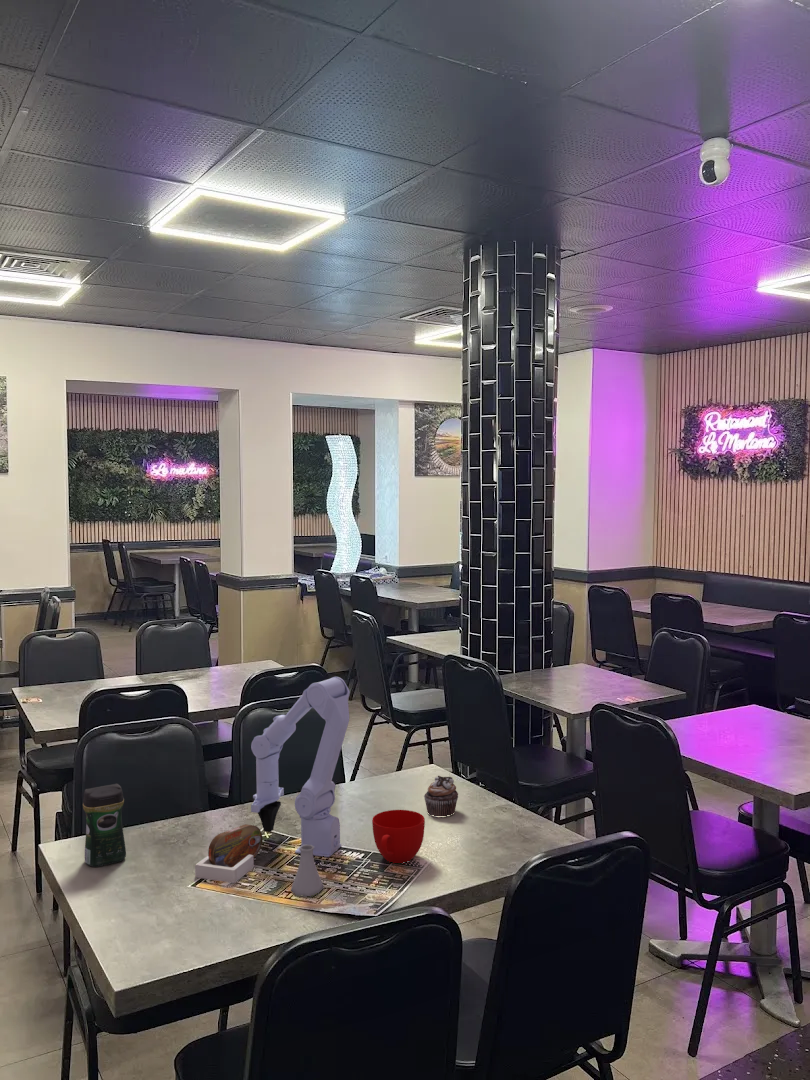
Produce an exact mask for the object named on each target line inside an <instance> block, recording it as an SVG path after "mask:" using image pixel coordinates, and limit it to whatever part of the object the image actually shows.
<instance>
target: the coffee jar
mask: <svg viewBox="0 0 810 1080" xmlns="http://www.w3.org/2000/svg"><path fill="white" fill-rule="evenodd" d="M82 801H83V802H82V808H83V811H84V813H85V821H86V822H85V823H86V824H85V825H86V826H85V827H86V828H85V840H84V841H85V842H84V862H85V864H86V865H87V866H91V867H93V868H95V867H97V868H98V867H103V865H104V866H108V865H112V864H115V863H119V862H122V861H123V860H124V859H126V858H127V857H126V856H127V849H126V841H125V835H124V827H123V818H122V813H123V812H122V811H123V807H124V804H125V798H124V792H123V789H122V786H121V785H120V784H119V783H113V784H107V785H101V786H96V787H91V788H85V789H84V791H83V799H82Z"/></svg>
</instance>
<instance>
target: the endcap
mask: <svg viewBox="0 0 810 1080" xmlns="http://www.w3.org/2000/svg"><path fill="white" fill-rule="evenodd" d="M254 862H255V861H254V858H253V855H248V856H246V857H245V858H244V859H243V860H241V861H240V862H239V863H237V864H236V865H235V866H234V867H224V866H217V865H212V864H211V863H210V861H209V856H208V855H206V856H205V857H204V858H202V859H201V860H199V862H197V863H196V864H195V865H194V876H195V877H194V878H197V879H198V878H199V879H203V880H204V879H205V880H211V881H218V882H223V883H224V882H225V883H233V884H235V883H237V882H238V881H239V880H240V879H241V878H242V877H244V876H245V875H246V874H247V873H248V872H250V871H251V870H252V869H254V867H255V865H254V864H255V863H254Z"/></svg>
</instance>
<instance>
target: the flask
mask: <svg viewBox="0 0 810 1080" xmlns="http://www.w3.org/2000/svg"><path fill="white" fill-rule="evenodd" d="M300 846H301V845H300ZM300 846H299V847H300ZM299 847H298V848H299ZM313 849H314V846H312V845H307V844H306V845H302V846H301V847H300V848H299V850H300V851H301V854H300V857H299V858H300V859H299V864H298V867H297V871H296V874H295V877H294V880H293V881H292V885H291V889H290V892H291V891H292V892H293V894H294V893H295V894H294V895H296V896H297V895H303V896H302V897H307V896H310V897H312V896H311V895H313V896H315V895H314V894H316V893H318V894H320V893H321V892H322V891H323V890H324V888H325V886H324V884H323V880H322V878H321V876H320V874H319V871H318V869H317V866H316V863H315V859H314V855H313ZM323 887H324V888H323ZM322 889H323V890H322ZM321 890H322V891H321ZM320 891H321V892H320ZM292 892H291V893H292ZM319 892H320V893H319ZM316 895H317V894H316Z"/></svg>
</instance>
